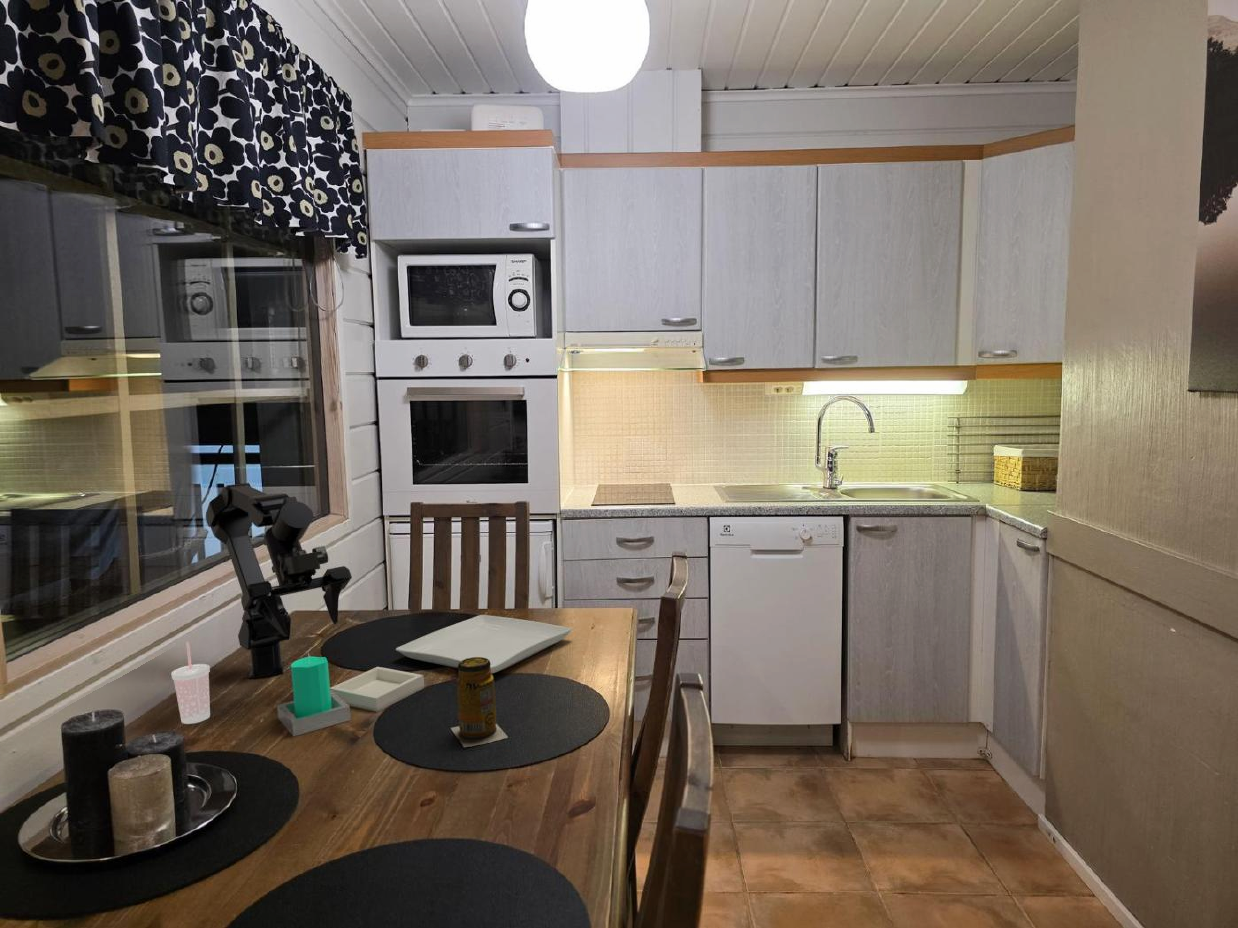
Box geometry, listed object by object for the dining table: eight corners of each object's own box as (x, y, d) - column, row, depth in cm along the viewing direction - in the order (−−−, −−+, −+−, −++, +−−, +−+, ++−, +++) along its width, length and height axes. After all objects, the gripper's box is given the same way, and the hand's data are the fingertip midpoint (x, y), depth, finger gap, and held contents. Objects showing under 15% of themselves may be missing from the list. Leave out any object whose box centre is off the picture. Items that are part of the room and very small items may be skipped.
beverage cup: (208, 708, 148) (200, 634, 147) (219, 717, 144) (211, 641, 143) (171, 719, 144) (163, 643, 143) (182, 728, 140) (174, 650, 138)
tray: (330, 701, 149) (329, 688, 149) (378, 678, 159) (377, 666, 159) (377, 711, 143) (376, 698, 143) (424, 687, 154) (423, 675, 153)
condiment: (492, 719, 138) (488, 651, 137) (508, 738, 130) (503, 666, 129) (450, 729, 135) (445, 660, 133) (464, 749, 127) (459, 675, 126)
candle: (320, 727, 138) (314, 659, 136) (288, 725, 139) (282, 658, 138) (339, 712, 144) (333, 647, 142) (308, 711, 145) (302, 646, 144)
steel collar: (278, 718, 142) (277, 704, 142) (333, 703, 148) (332, 690, 148) (293, 736, 135) (292, 722, 134) (350, 719, 140) (349, 706, 140)
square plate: (575, 642, 177) (574, 625, 177) (492, 685, 154) (491, 666, 154) (482, 627, 192) (481, 611, 191) (394, 664, 169) (392, 646, 168)
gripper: (244, 542, 140) (269, 623, 135) (347, 525, 153) (374, 599, 147) (230, 571, 148) (254, 649, 142) (330, 553, 160) (355, 624, 155)
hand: (311, 629), depth 146 cm, fingers open, 9 cm apart
